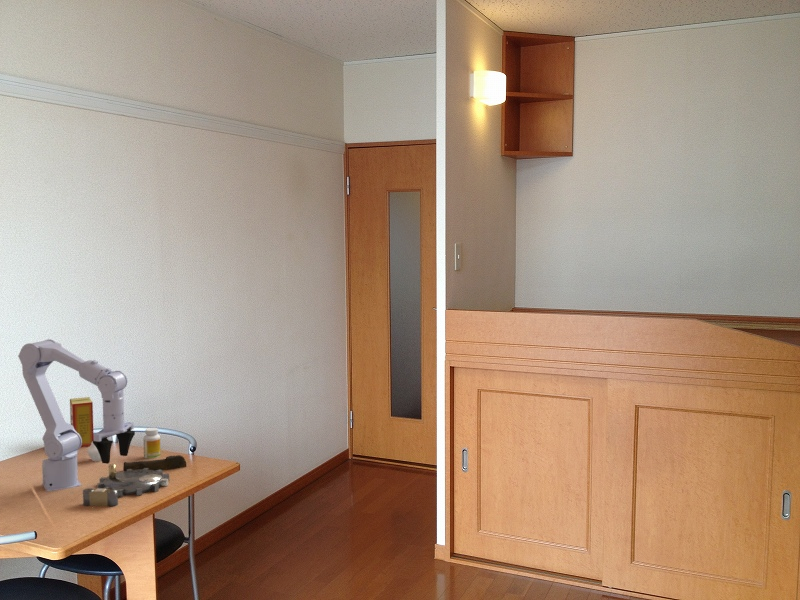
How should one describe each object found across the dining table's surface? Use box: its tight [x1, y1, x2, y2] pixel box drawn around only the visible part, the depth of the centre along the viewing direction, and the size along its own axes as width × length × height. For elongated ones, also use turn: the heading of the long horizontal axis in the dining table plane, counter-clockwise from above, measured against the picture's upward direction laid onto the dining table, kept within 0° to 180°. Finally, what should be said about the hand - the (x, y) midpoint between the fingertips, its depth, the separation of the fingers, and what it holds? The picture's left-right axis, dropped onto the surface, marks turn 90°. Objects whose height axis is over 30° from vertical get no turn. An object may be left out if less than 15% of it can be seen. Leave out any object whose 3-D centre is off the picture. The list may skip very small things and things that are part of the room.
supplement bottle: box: [142, 427, 162, 459], centre depth 250 cm, size 5×5×10 cm
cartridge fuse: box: [82, 487, 119, 508], centre depth 206 cm, size 10×3×5 cm, turn 88°
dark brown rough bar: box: [122, 454, 187, 472], centre depth 236 cm, size 19×4×5 cm, turn 106°
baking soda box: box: [69, 396, 95, 448], centre depth 265 cm, size 10×6×16 cm
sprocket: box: [96, 463, 170, 498], centre depth 221 cm, size 20×20×6 cm
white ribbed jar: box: [86, 441, 102, 462], centre depth 247 cm, size 6×6×7 cm
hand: (114, 459), depth 217 cm, fingers open, 7 cm apart
